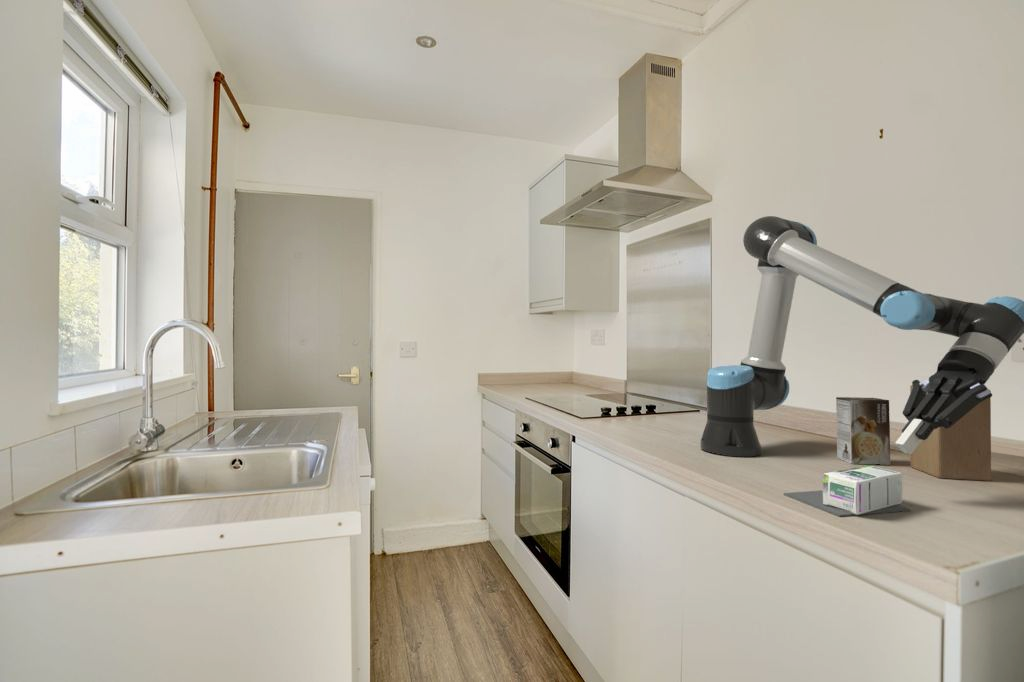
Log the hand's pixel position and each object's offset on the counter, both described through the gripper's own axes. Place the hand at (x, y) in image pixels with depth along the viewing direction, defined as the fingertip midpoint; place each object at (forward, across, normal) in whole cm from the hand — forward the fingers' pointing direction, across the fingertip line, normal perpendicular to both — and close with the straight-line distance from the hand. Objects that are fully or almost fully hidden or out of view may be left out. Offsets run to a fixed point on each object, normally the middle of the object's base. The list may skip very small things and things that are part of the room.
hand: (903, 448), depth 88 cm
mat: (+16, 0, +3) cm, 16 cm away
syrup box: (+8, 0, -1) cm, 8 cm away
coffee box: (-7, +25, -21) cm, 33 cm away
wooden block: (-13, +12, -27) cm, 32 cm away
